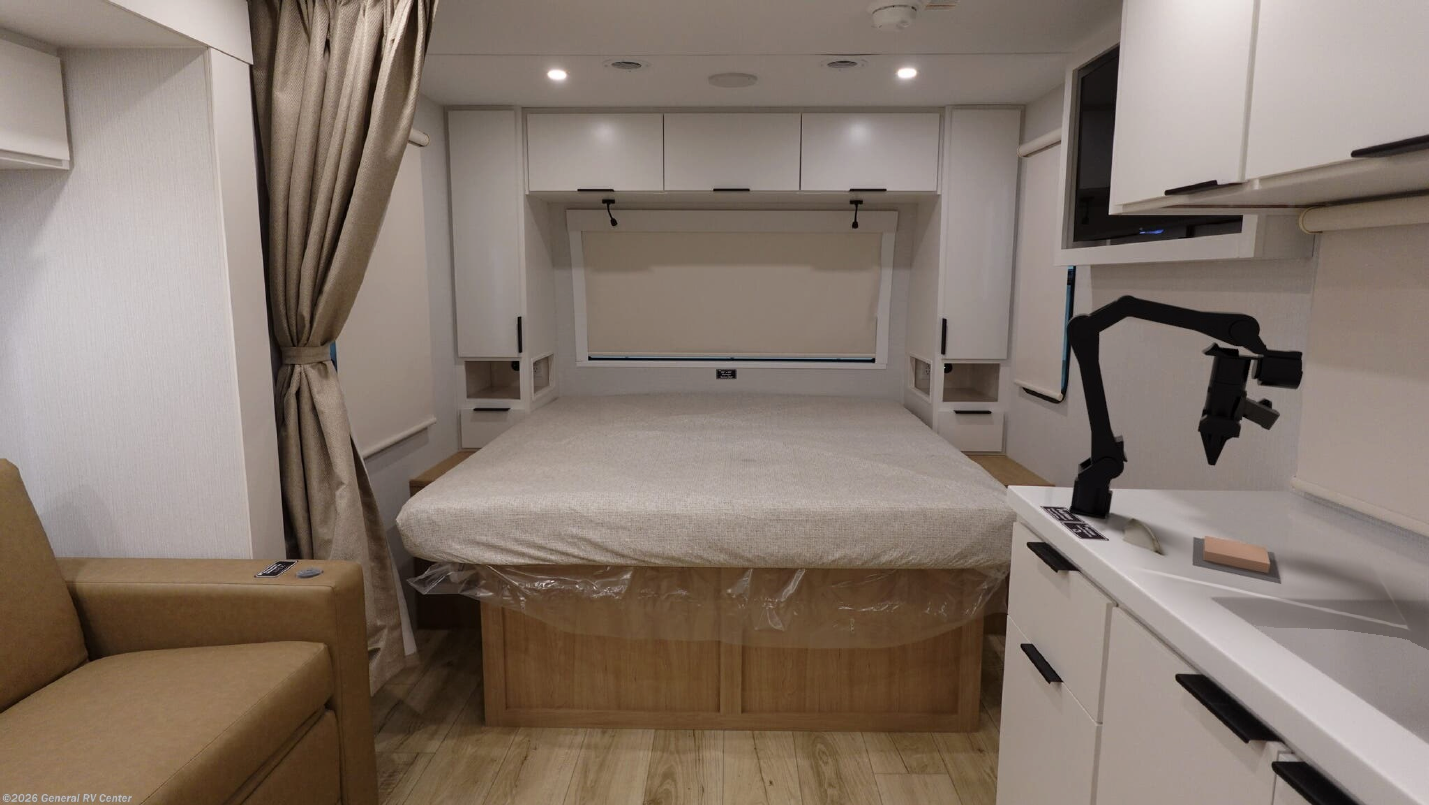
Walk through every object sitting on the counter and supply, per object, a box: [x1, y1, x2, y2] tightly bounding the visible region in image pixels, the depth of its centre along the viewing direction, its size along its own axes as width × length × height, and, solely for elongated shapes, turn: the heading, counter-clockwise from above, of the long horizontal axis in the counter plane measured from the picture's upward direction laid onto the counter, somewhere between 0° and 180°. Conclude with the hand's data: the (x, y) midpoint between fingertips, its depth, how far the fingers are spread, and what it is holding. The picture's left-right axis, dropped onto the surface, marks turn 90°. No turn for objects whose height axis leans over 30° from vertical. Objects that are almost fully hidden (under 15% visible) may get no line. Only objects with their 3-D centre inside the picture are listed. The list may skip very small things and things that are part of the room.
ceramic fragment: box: [1122, 517, 1164, 556], centre depth 140 cm, size 14×5×4 cm, turn 173°
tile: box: [1203, 535, 1270, 573], centre depth 133 cm, size 9×2×9 cm
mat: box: [1192, 536, 1282, 585], centre depth 133 cm, size 12×16×1 cm
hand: (1211, 464), depth 146 cm, fingers closed
